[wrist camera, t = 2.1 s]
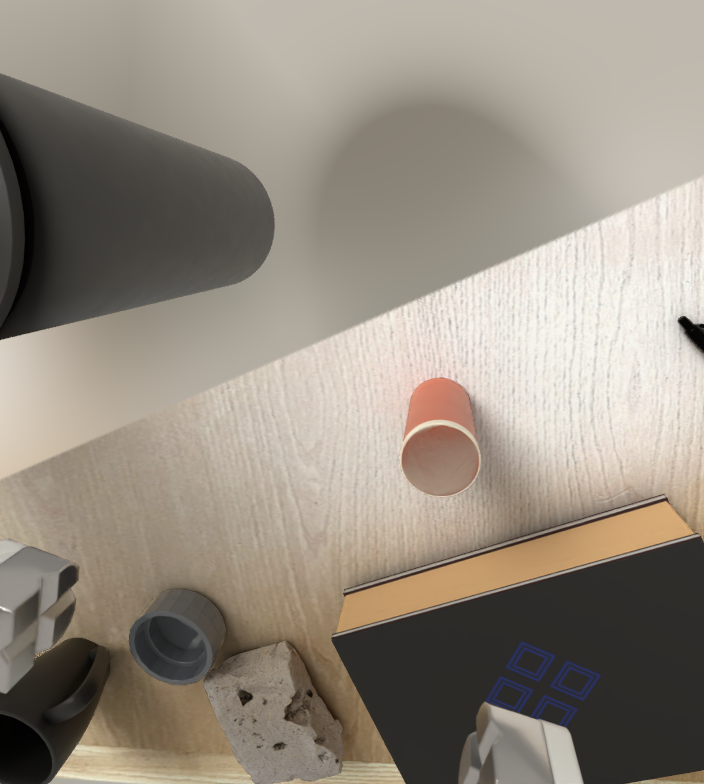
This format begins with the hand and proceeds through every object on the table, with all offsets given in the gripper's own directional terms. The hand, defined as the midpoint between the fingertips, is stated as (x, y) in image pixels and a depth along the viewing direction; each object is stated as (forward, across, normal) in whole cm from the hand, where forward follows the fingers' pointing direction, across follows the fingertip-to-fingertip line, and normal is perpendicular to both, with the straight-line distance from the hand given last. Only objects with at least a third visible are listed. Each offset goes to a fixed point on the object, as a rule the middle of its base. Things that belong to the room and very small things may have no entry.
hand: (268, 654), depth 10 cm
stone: (+30, +1, +33) cm, 45 cm away
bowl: (+30, +12, +29) cm, 43 cm away
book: (+31, -16, +19) cm, 39 cm away
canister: (+30, -4, +3) cm, 30 cm away
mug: (+30, +20, +36) cm, 51 cm away
